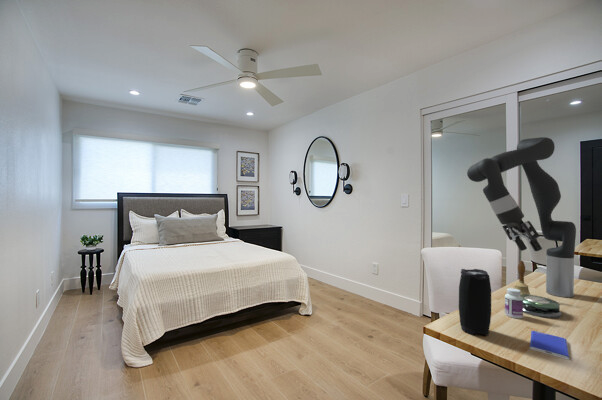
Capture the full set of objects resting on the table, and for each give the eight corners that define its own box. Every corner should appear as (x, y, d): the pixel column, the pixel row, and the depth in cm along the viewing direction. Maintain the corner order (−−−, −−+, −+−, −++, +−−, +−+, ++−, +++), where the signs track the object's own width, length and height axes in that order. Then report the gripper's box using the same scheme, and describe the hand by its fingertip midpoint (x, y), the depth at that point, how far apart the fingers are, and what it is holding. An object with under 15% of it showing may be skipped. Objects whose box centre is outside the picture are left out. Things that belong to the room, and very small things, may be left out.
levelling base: (512, 301, 118) (512, 291, 118) (556, 308, 110) (556, 297, 110) (515, 312, 106) (515, 301, 106) (565, 321, 98) (565, 309, 98)
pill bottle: (524, 316, 103) (524, 290, 103) (520, 320, 99) (520, 293, 99) (507, 311, 107) (507, 286, 107) (502, 315, 103) (502, 289, 103)
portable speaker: (453, 328, 92) (453, 269, 92) (469, 322, 97) (469, 266, 97) (480, 340, 85) (481, 276, 85) (496, 332, 90) (496, 272, 90)
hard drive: (531, 330, 90) (529, 345, 80) (566, 338, 84) (569, 355, 75) (531, 334, 90) (529, 350, 80) (566, 343, 84) (569, 361, 75)
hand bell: (531, 301, 117) (532, 264, 117) (507, 296, 123) (507, 260, 123) (535, 297, 123) (535, 261, 123) (512, 292, 129) (512, 258, 129)
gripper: (527, 202, 96) (555, 246, 92) (505, 207, 110) (529, 245, 106) (506, 211, 96) (533, 255, 93) (487, 215, 110) (509, 253, 107)
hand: (531, 250), depth 100 cm, fingers open, 8 cm apart
